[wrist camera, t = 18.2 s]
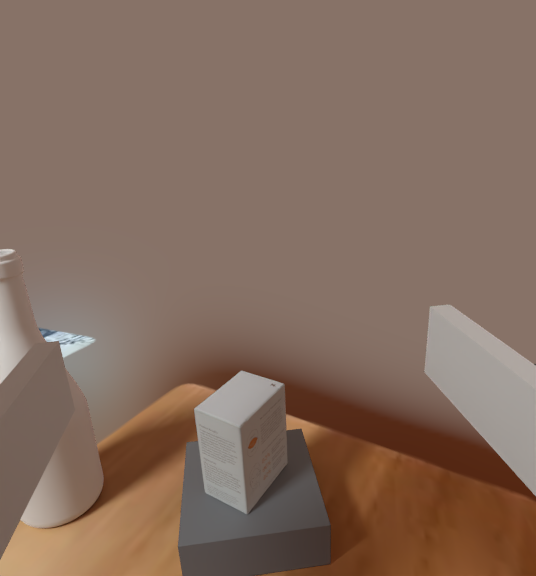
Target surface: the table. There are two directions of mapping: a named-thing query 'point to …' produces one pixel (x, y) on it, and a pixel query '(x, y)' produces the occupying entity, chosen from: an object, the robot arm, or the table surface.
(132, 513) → the table surface
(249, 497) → the small box
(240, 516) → the plinth
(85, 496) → the wine bottle
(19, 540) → the table surface
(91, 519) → the table surface
